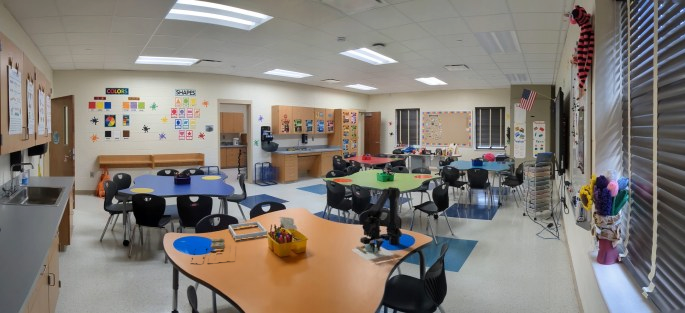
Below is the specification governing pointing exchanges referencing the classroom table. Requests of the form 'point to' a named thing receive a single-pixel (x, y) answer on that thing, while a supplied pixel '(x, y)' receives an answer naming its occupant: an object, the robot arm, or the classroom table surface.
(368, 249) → the teal dome with tabs
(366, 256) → the board
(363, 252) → the cradle
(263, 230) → the train corral
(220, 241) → the pile of dominoes
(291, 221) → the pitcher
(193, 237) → the classroom table surface
